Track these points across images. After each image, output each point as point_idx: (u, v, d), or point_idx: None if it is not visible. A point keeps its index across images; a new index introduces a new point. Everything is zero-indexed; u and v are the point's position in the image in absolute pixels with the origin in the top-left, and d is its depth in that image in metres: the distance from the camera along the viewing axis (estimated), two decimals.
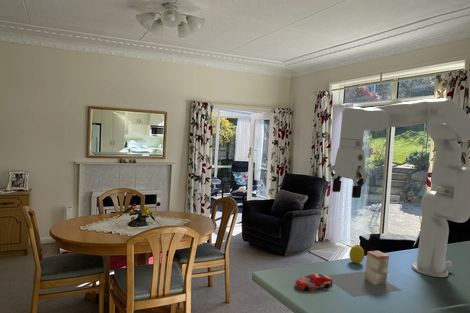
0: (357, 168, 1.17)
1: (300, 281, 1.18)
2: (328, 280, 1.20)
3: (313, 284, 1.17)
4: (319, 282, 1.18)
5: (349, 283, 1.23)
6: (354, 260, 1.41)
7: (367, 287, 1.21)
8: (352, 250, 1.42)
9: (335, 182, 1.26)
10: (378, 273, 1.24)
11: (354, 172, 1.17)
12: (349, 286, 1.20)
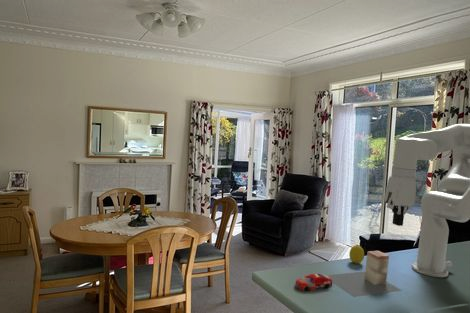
0: None
1: (300, 281, 1.18)
2: (328, 280, 1.20)
3: (313, 284, 1.17)
4: (319, 282, 1.18)
5: (349, 283, 1.23)
6: (354, 260, 1.41)
7: (367, 287, 1.21)
8: (352, 250, 1.42)
9: None
10: (378, 273, 1.24)
11: (414, 199, 1.27)
12: (349, 286, 1.20)
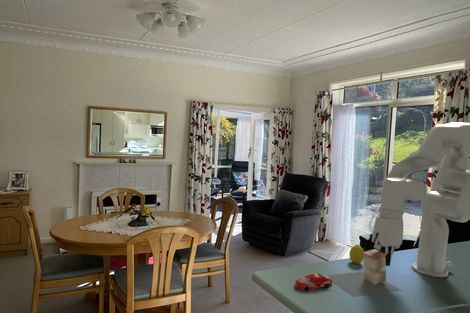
0: None
1: (300, 281, 1.18)
2: (328, 280, 1.20)
3: (313, 284, 1.17)
4: (319, 282, 1.18)
5: (349, 283, 1.23)
6: (354, 260, 1.41)
7: (367, 287, 1.21)
8: (352, 250, 1.42)
9: None
10: (376, 273, 1.23)
11: None
12: (349, 286, 1.20)
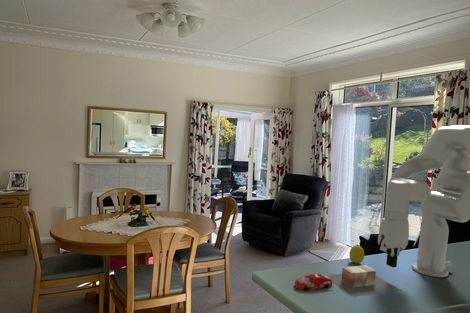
0: None
1: (299, 281, 1.18)
2: (328, 280, 1.19)
3: (312, 284, 1.17)
4: (318, 282, 1.18)
5: None
6: (354, 260, 1.41)
7: (367, 287, 1.21)
8: (352, 250, 1.42)
9: None
10: (366, 282, 1.22)
11: None
12: None
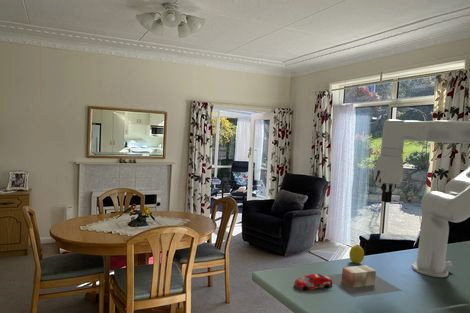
0: None
1: (299, 280, 1.18)
2: (328, 280, 1.19)
3: (312, 284, 1.17)
4: (318, 282, 1.18)
5: None
6: (354, 260, 1.41)
7: (367, 287, 1.21)
8: (352, 250, 1.42)
9: None
10: (366, 282, 1.22)
11: (402, 177, 1.35)
12: None
